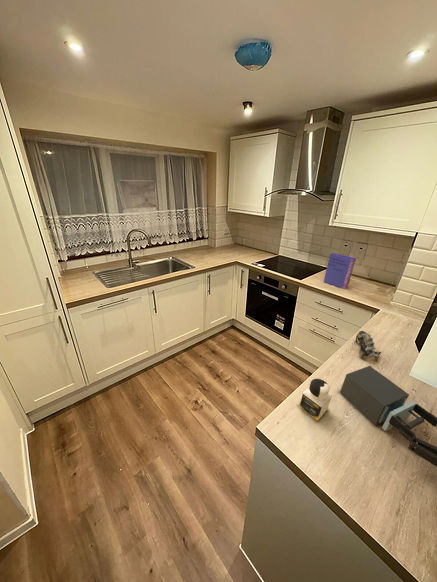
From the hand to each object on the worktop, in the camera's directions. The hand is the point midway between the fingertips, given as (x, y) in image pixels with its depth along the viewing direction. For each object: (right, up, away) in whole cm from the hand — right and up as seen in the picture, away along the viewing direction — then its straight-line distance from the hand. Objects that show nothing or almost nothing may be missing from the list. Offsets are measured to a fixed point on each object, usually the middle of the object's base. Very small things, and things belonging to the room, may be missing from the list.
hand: (403, 412), depth 76 cm
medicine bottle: (-26, -3, +8) cm, 27 cm away
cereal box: (+34, +44, +113) cm, 126 cm away
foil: (+11, +10, +38) cm, 41 cm away
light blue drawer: (-2, -4, +6) cm, 8 cm away
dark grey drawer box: (-4, -2, +11) cm, 12 cm away
